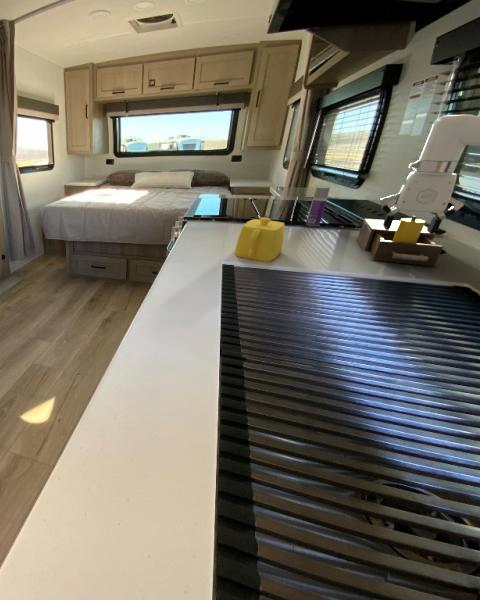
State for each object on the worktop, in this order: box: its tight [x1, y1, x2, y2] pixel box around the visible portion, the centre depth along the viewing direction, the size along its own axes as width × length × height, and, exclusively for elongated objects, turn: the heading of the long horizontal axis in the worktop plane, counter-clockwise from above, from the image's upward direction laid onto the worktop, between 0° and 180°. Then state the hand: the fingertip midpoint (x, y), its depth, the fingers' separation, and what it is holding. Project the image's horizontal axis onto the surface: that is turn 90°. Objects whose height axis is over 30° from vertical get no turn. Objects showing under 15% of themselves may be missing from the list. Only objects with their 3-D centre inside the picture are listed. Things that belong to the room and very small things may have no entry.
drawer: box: [369, 232, 444, 267], centre depth 98 cm, size 18×13×6 cm
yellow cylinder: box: [392, 215, 426, 243], centre depth 97 cm, size 5×5×11 cm
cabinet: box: [356, 218, 436, 252], centre depth 107 cm, size 15×15×8 cm
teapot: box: [235, 217, 285, 263], centre depth 107 cm, size 20×12×12 cm, turn 138°
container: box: [305, 185, 331, 227], centre depth 134 cm, size 5×5×15 cm
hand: (407, 230), depth 96 cm, fingers open, 9 cm apart
